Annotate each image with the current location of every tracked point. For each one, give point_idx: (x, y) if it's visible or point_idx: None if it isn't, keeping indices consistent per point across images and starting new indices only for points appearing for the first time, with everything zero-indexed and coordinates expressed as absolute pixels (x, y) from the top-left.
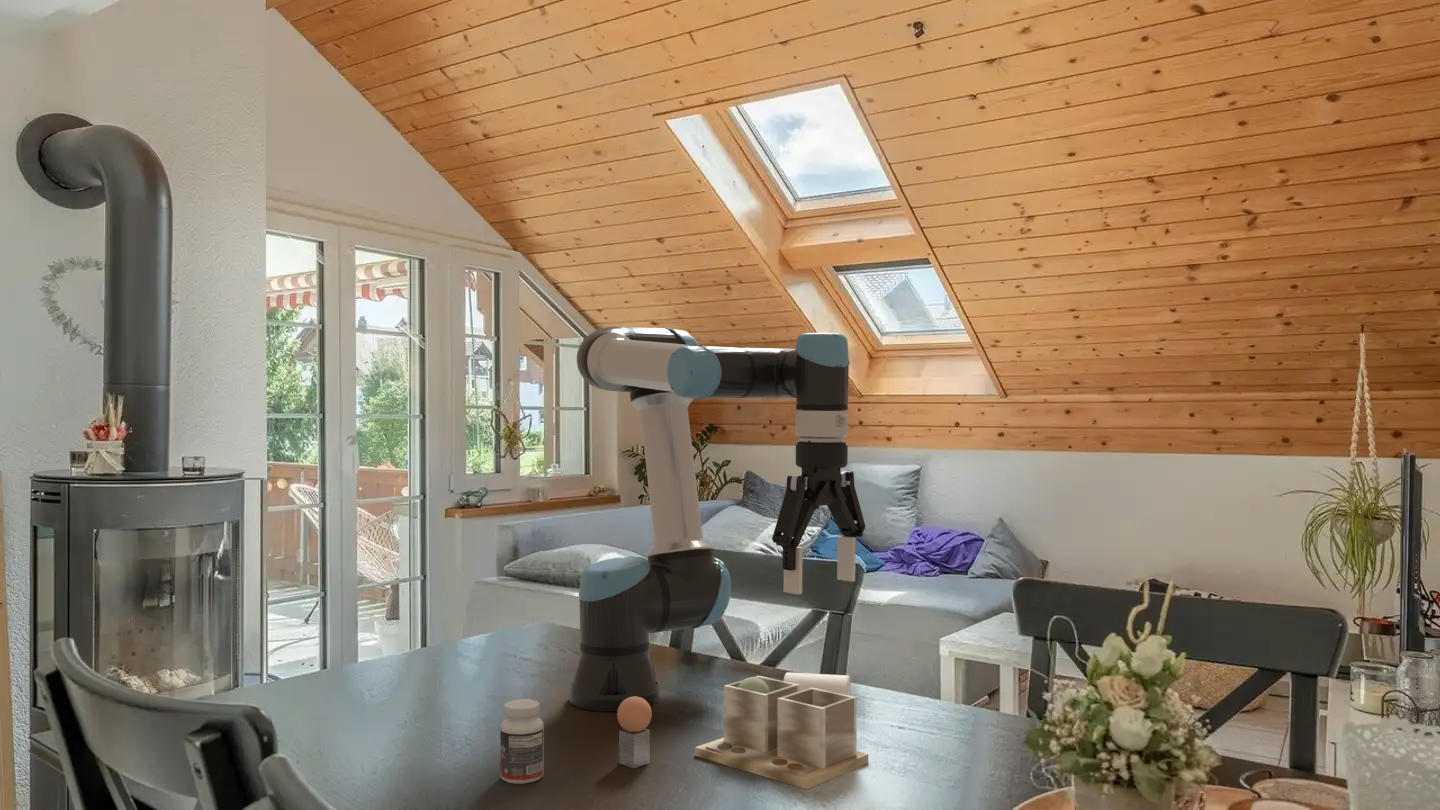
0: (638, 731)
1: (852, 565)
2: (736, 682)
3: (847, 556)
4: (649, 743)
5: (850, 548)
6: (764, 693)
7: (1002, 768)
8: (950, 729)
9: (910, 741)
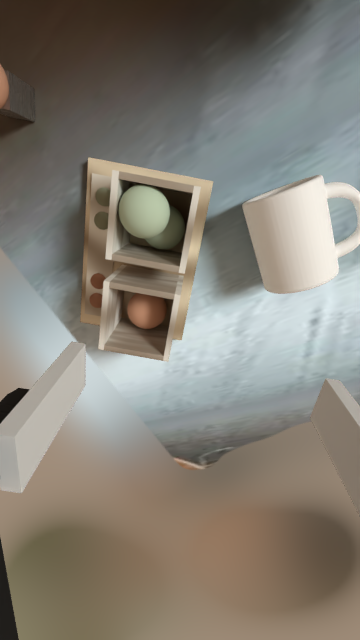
0: None
1: (327, 452)
2: (141, 177)
3: (346, 459)
4: (20, 114)
5: (355, 494)
6: (138, 237)
7: (229, 429)
8: (328, 366)
9: (268, 346)
